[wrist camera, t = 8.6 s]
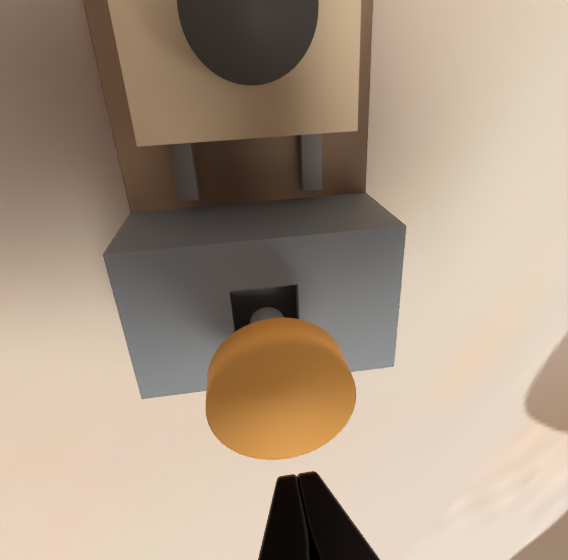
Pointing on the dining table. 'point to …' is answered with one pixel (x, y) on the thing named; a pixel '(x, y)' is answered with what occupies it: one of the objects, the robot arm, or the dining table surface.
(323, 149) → the rail track
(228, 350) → the gauge button
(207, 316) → the gray block
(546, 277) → the dining table surface
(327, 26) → the carriage
